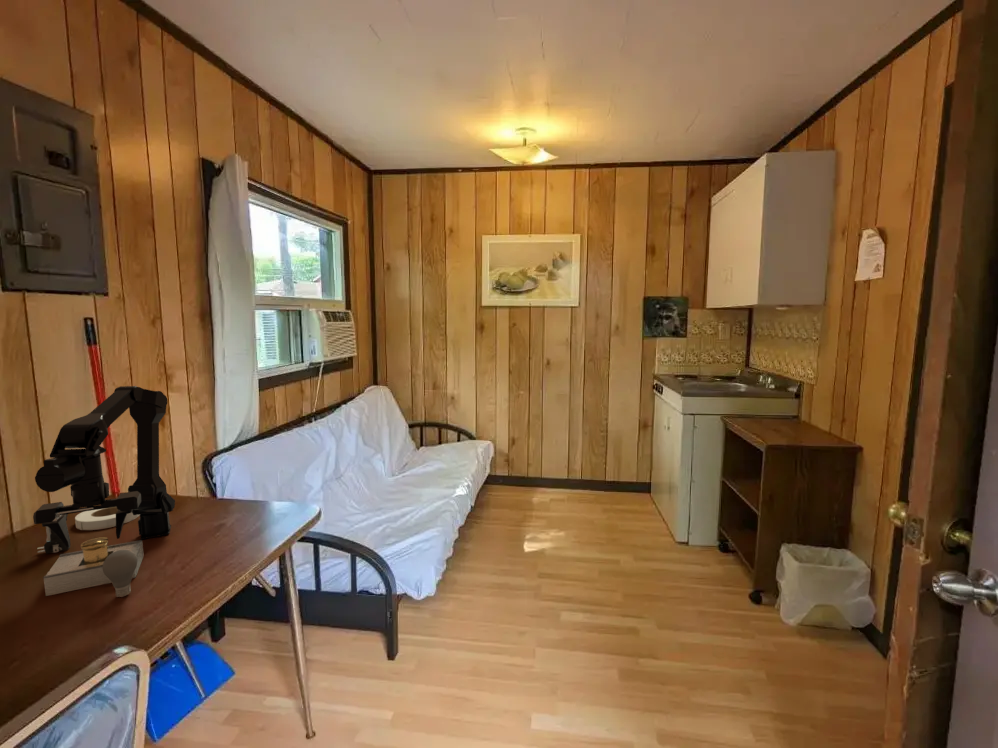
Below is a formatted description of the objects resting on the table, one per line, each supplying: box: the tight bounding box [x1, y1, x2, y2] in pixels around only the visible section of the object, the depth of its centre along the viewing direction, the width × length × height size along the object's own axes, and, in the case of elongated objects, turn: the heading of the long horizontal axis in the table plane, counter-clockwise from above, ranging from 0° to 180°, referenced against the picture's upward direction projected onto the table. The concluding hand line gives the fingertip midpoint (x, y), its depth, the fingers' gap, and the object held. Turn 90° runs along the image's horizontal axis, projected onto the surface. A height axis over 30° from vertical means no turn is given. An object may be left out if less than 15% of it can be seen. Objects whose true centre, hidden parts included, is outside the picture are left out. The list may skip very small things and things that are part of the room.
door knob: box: [80, 536, 109, 565], centre depth 119 cm, size 5×5×8 cm
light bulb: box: [102, 550, 137, 598], centre depth 110 cm, size 6×6×10 cm
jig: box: [43, 539, 145, 597], centre depth 119 cm, size 16×12×4 cm
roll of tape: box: [74, 507, 140, 531], centre depth 152 cm, size 16×15×3 cm
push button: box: [36, 514, 71, 554], centre depth 131 cm, size 7×5×10 cm
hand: (94, 542), depth 118 cm, fingers open, 9 cm apart
